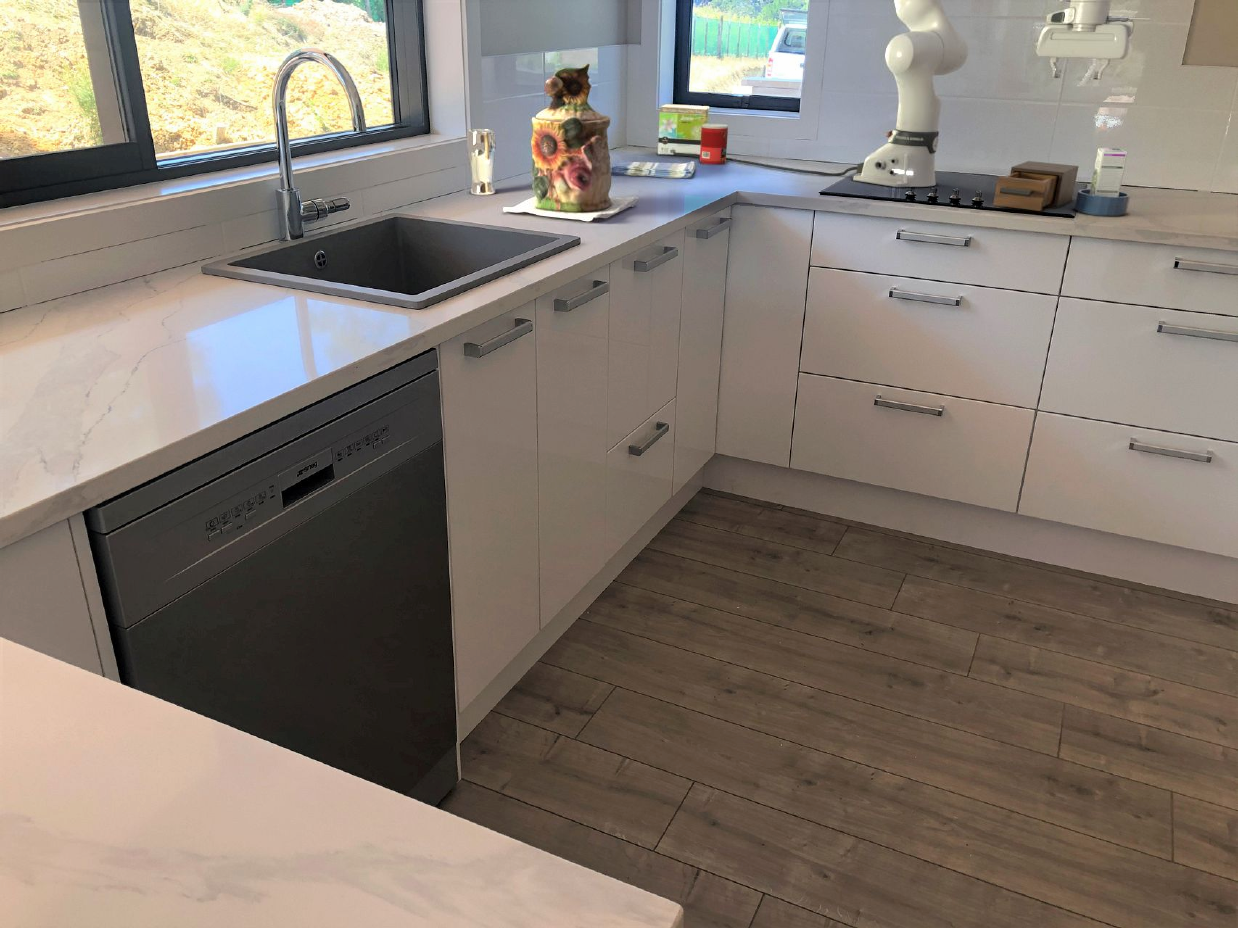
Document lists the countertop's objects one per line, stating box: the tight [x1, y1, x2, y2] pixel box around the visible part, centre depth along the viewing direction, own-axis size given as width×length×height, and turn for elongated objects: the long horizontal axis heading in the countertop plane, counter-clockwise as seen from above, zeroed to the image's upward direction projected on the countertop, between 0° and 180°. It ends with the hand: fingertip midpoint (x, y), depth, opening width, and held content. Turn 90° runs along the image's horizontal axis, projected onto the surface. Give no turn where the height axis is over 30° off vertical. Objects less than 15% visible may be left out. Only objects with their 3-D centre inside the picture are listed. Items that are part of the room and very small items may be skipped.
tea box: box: [657, 103, 710, 156], centre depth 322 cm, size 15×10×15 cm, turn 81°
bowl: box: [1074, 188, 1131, 217], centre depth 246 cm, size 12×12×4 cm
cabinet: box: [1009, 160, 1080, 209], centre depth 257 cm, size 15×13×9 cm
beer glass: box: [467, 128, 497, 196], centre depth 251 cm, size 7×7×15 cm
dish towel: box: [611, 160, 696, 179], centre depth 288 cm, size 17×24×3 cm
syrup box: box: [1089, 147, 1128, 197], centre depth 244 cm, size 6×6×14 cm
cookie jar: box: [503, 63, 638, 222], centre depth 229 cm, size 25×25×32 cm
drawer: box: [992, 172, 1058, 212], centre depth 246 cm, size 18×11×7 cm, turn 144°
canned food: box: [699, 123, 729, 165], centre depth 307 cm, size 8×8×11 cm
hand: (1076, 78), depth 243 cm, fingers open, 8 cm apart
